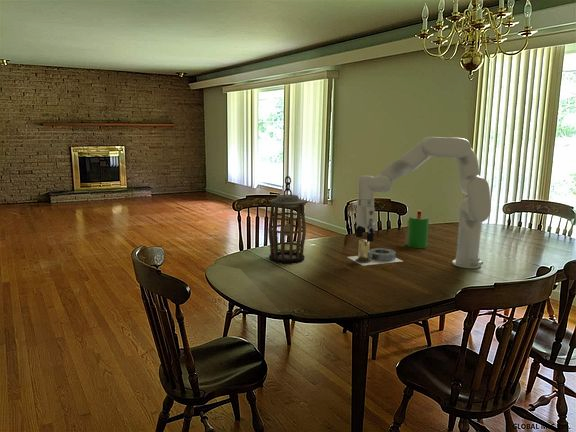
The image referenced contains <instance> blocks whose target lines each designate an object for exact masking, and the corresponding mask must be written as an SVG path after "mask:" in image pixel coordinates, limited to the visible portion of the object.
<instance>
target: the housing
mask: <svg viewBox="0 0 576 432" xmlns="http://www.w3.org/2000/svg"><path fill="white" fill-rule="evenodd" d="M396 255H397V253H396V251H395V250H393V249H389V248H381V247H380V248H378V247H376V248H371V249H370V248H369V258H370V259H372V260H376V261H393V260H395V258H397V256H396Z"/></svg>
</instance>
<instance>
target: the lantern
mask: <svg viewBox="0 0 576 432" xmlns="http://www.w3.org/2000/svg"><path fill="white" fill-rule="evenodd" d="M287 179H288V180H289V181H287ZM284 183H285V188H284V191H283V194H278V195H277V196H276V198H272V199H271V200H269V201H268V202H266V203H267V204H268V205H270V213H269V214H270V216H269V221H268V230H267V232H268V240H269V246H270V247H269V251H270V255H269V260H270V262H272V261H273V262H272V263H275V262H276V263H275V264H279V263H282V264H281V265H293V264H292V263H296V264H300V263H303V262H302V261H304V260H305V255H304V250H305V241H306V235H307V231H306V230H307V224H306V219H305V218H306V216H305V206H306V204H307V203H308V201H306V200H304V199H302V198H301V199H300V198H299V195H295V194H292V193H293V192H292V190H291V183H292V179H291V177H290V176H289V175H287V176H285V178H284ZM286 192H289V194H286ZM279 208H281V212H279ZM294 208H296V212H294ZM279 216H281V217H279ZM294 216H296V217H294ZM278 221H280V224H278ZM295 221H297V225H296V224H295V223H294V222H295ZM278 228H280V230H278ZM294 228H297V230H295V229H294ZM278 234H280V242H278V241H279V240H278V238H279V237H278ZM294 234H297V235H296V236H297V237H296V238H297V239H296V242H294ZM287 236H288V237H289V242H286V237H287ZM279 245H280V248H279ZM286 245H289V249H286ZM294 246H295V247H296V249H294Z"/></svg>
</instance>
